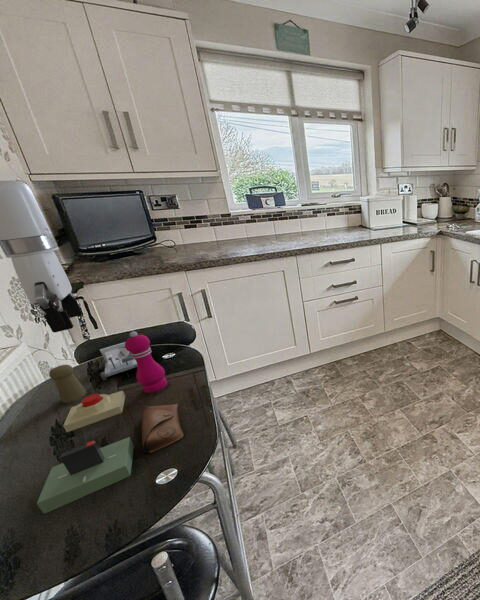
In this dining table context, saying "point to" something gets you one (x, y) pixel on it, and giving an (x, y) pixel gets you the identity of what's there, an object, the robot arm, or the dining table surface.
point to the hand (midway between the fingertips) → (69, 322)
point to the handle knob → (82, 457)
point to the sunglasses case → (160, 427)
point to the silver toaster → (116, 360)
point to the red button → (91, 400)
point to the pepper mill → (145, 363)
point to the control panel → (87, 477)
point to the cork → (67, 383)
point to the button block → (95, 411)
